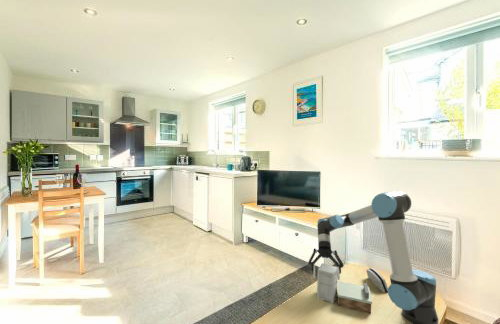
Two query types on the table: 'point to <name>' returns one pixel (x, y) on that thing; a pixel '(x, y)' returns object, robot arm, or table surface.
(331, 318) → the table surface
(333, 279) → the supplement box
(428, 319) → the robot arm
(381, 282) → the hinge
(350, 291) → the lid
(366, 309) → the brown wooden box
